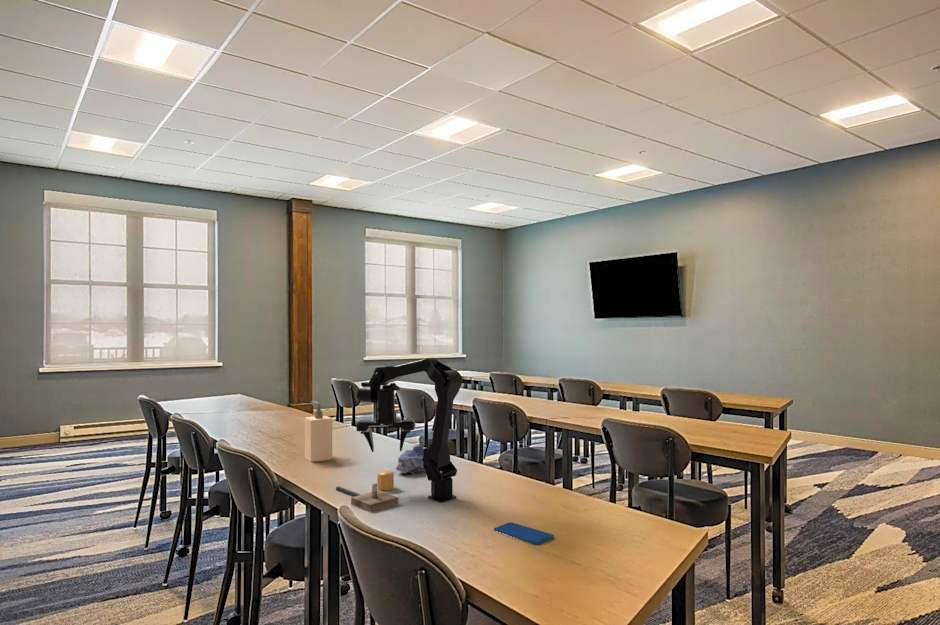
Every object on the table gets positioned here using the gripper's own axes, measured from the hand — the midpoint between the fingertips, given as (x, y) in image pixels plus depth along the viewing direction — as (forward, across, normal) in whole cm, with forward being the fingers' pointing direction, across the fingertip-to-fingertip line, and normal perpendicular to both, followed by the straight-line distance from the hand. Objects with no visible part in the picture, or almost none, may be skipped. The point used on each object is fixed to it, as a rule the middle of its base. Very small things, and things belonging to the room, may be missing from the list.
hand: (386, 451), depth 190 cm
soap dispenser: (+11, +34, -43) cm, 56 cm away
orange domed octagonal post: (+12, 0, +1) cm, 12 cm away
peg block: (+12, +1, +17) cm, 21 cm away
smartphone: (+14, -41, +42) cm, 60 cm away
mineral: (+12, -6, -21) cm, 25 cm away
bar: (+12, +10, +8) cm, 17 cm away
